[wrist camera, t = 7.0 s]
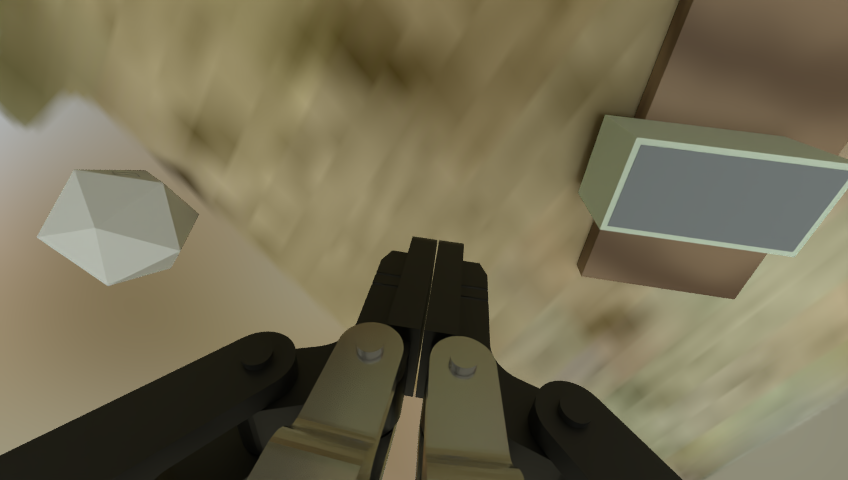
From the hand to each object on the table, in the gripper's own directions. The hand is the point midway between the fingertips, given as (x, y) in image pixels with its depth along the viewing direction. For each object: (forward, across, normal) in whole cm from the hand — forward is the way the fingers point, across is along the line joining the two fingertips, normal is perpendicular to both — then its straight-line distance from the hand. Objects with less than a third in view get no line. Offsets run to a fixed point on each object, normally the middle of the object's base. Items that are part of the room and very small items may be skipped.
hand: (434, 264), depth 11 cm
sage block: (+12, -8, 0) cm, 14 cm away
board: (+16, -16, 0) cm, 23 cm away
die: (+16, +24, +9) cm, 30 cm away
